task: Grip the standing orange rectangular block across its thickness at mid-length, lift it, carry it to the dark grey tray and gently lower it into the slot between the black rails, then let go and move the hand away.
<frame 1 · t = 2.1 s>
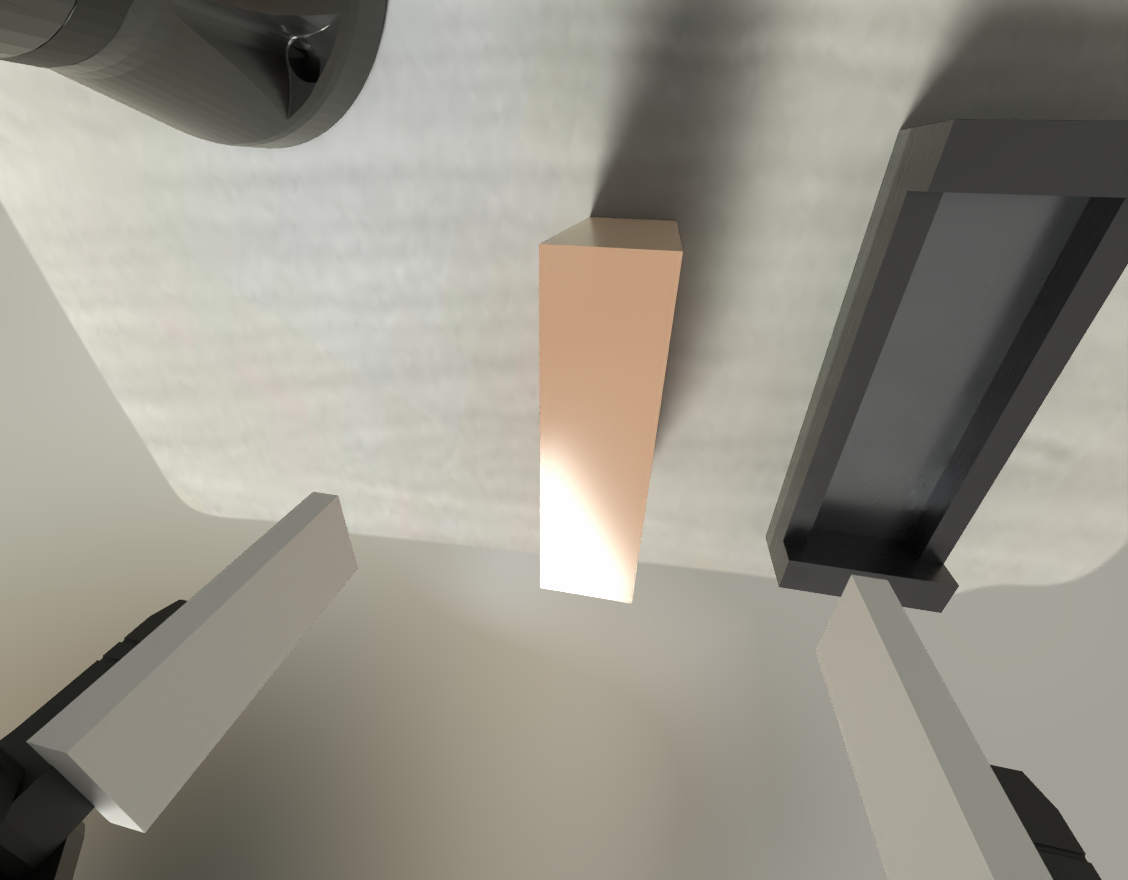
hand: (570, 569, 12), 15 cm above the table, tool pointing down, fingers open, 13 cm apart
orange rectangular block: (619, 361, 25), on the table
dark grey tray: (903, 388, 22), on the table
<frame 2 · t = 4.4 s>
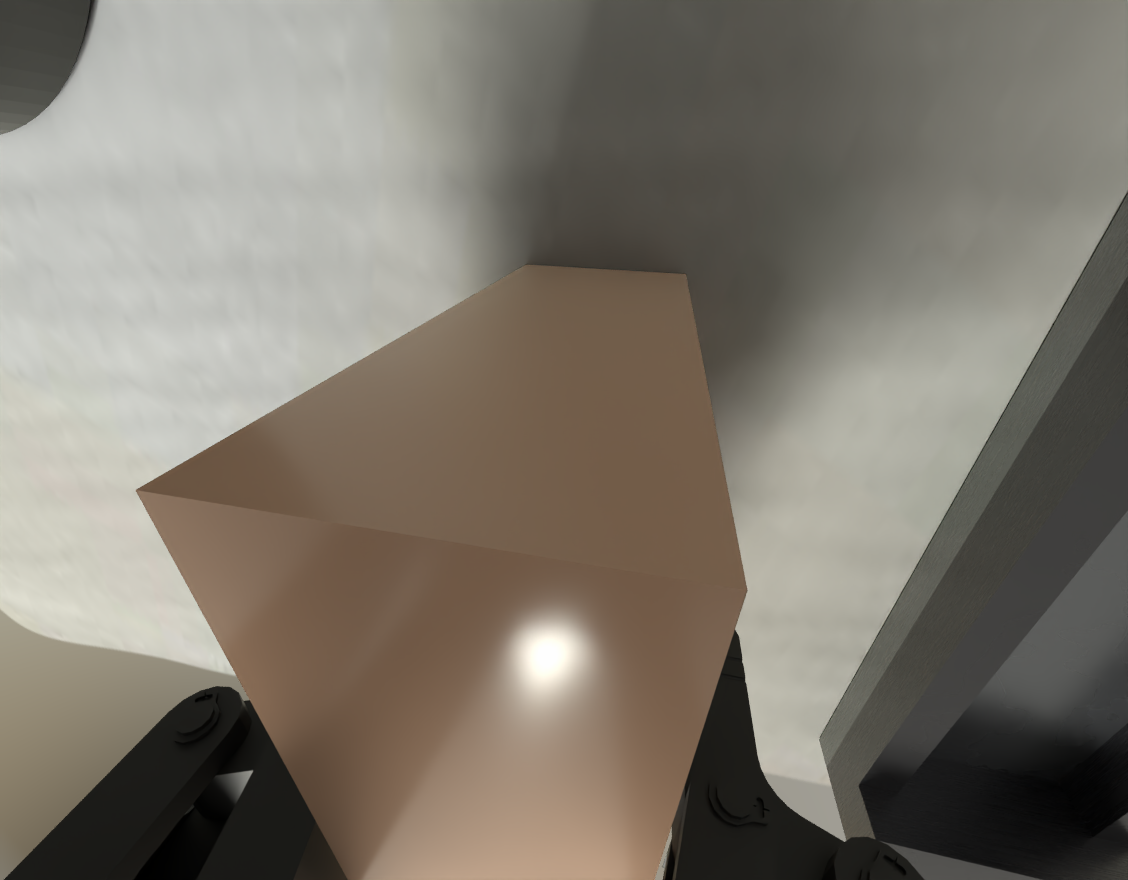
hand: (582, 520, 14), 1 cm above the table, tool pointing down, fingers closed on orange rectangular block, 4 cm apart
orange rectangular block: (588, 495, 15), on the table, touching gripper
dark grey tray: (1089, 566, 13), on the table
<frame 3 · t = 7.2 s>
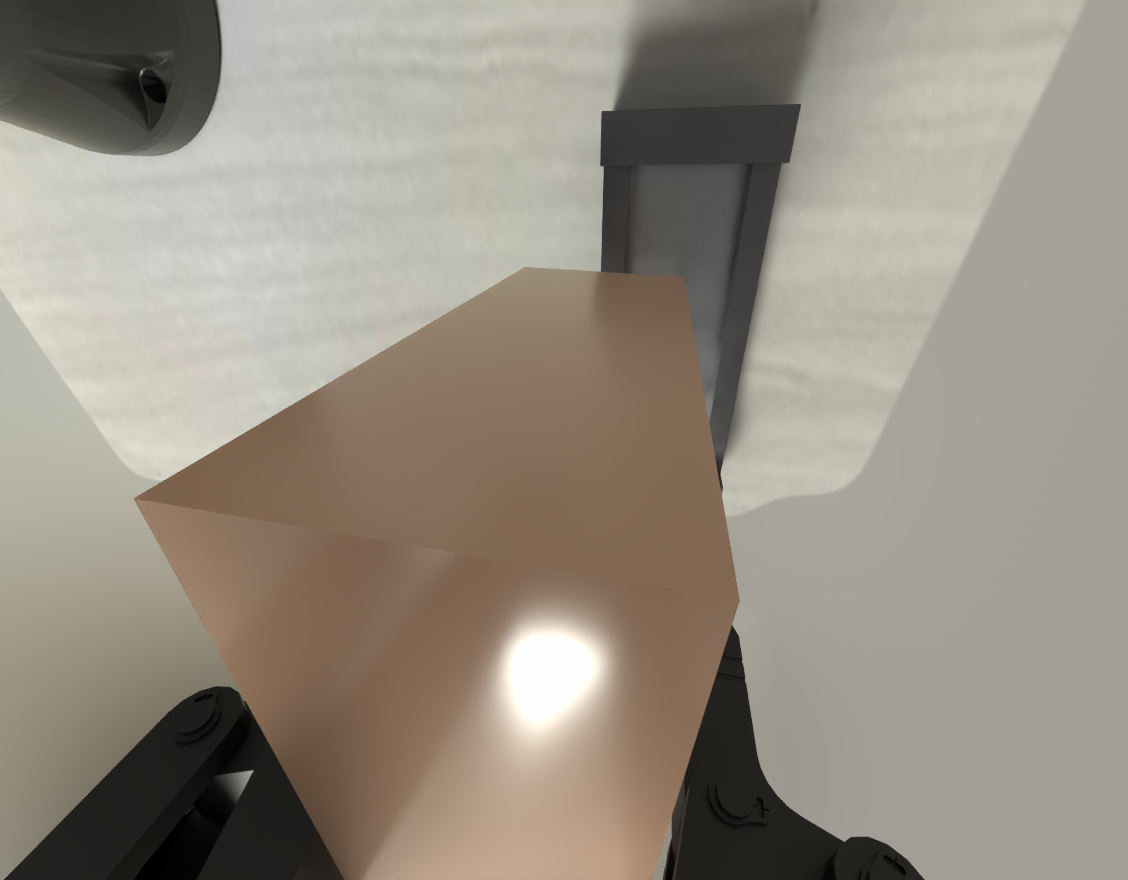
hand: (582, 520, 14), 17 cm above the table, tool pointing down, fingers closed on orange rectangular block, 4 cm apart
orange rectangular block: (587, 497, 15), point 16 cm above the table, touching gripper
dark grey tray: (669, 329, 28), on the table
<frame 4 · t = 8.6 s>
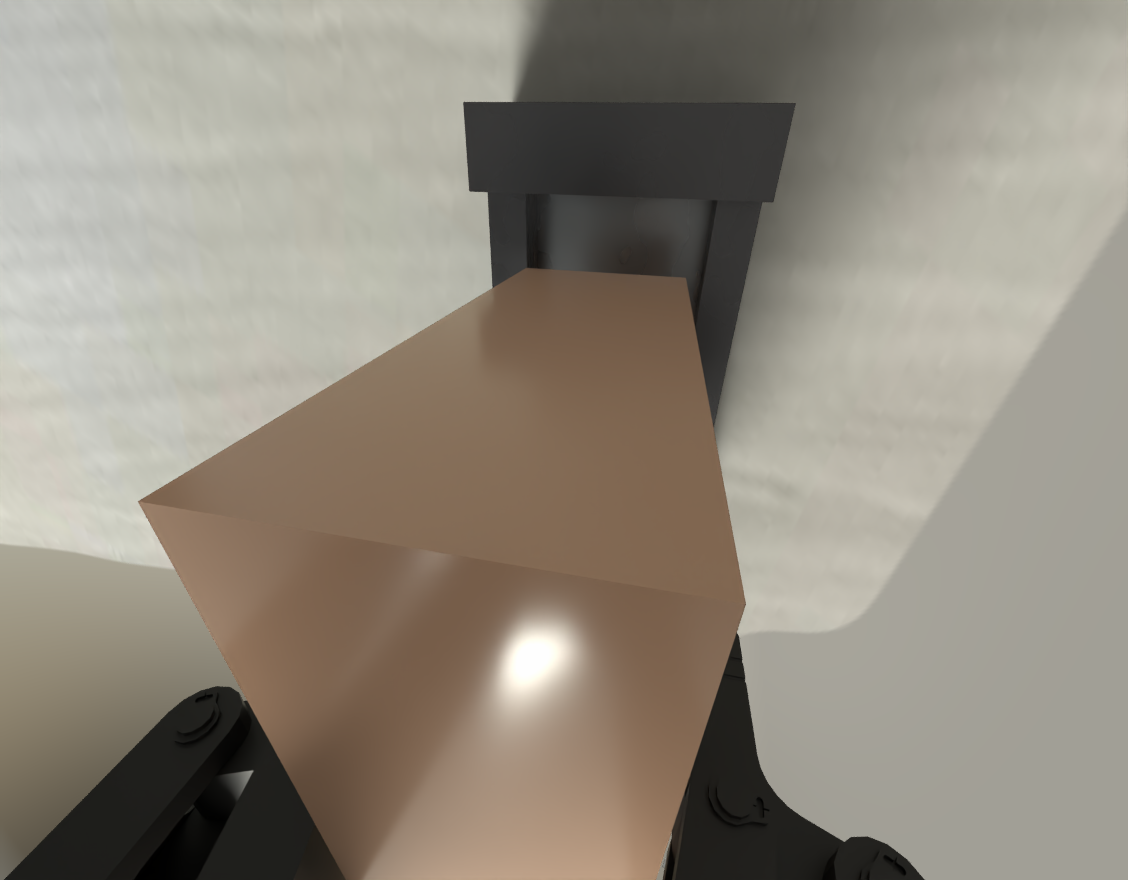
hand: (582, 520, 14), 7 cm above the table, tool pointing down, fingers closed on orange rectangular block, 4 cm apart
orange rectangular block: (588, 498, 15), point 6 cm above the table, touching gripper
dark grey tray: (607, 416, 20), on the table
when the fingers open (4 cm above the table, at t = 9.9 s): orange rectangular block drops 1 cm, resting on dark grey tray.
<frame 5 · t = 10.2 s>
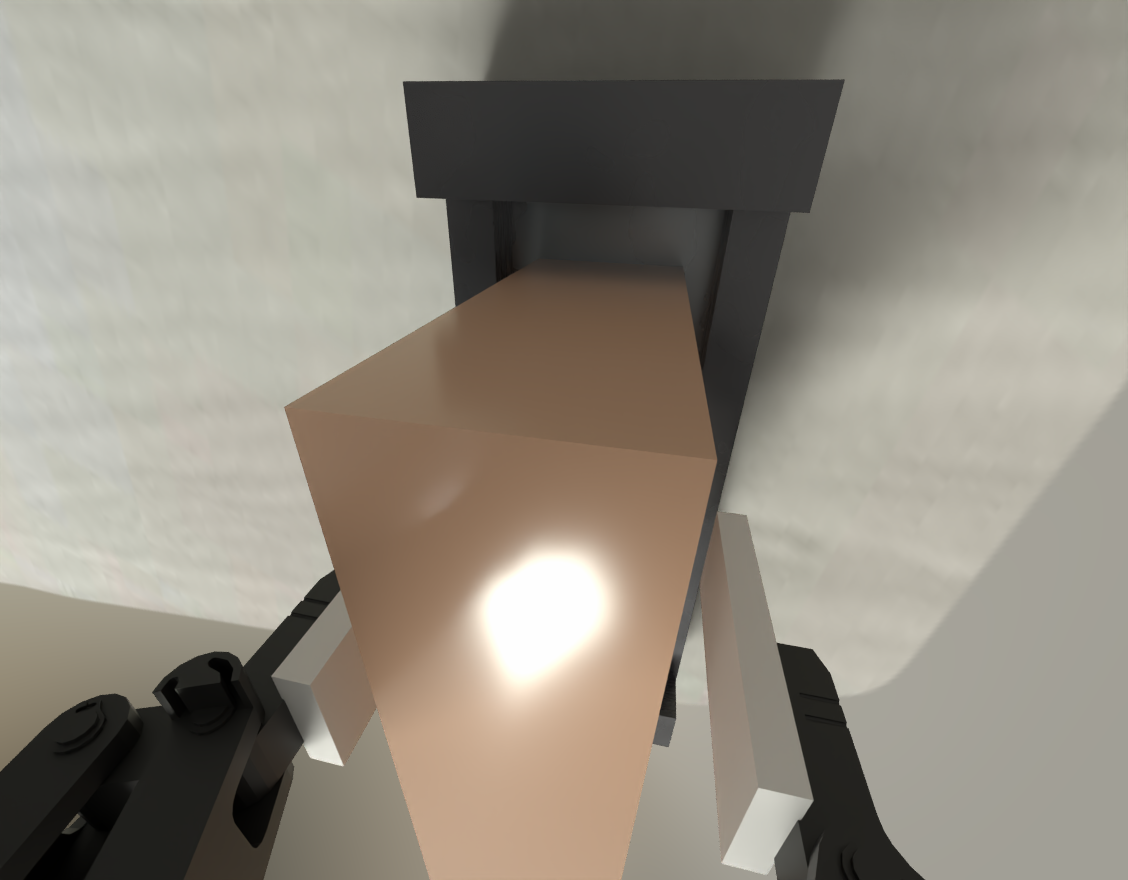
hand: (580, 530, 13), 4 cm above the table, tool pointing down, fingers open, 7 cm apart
orange rectangular block: (594, 473, 16), point 1 cm above the table, touching dark grey tray
dark grey tray: (598, 457, 17), on the table
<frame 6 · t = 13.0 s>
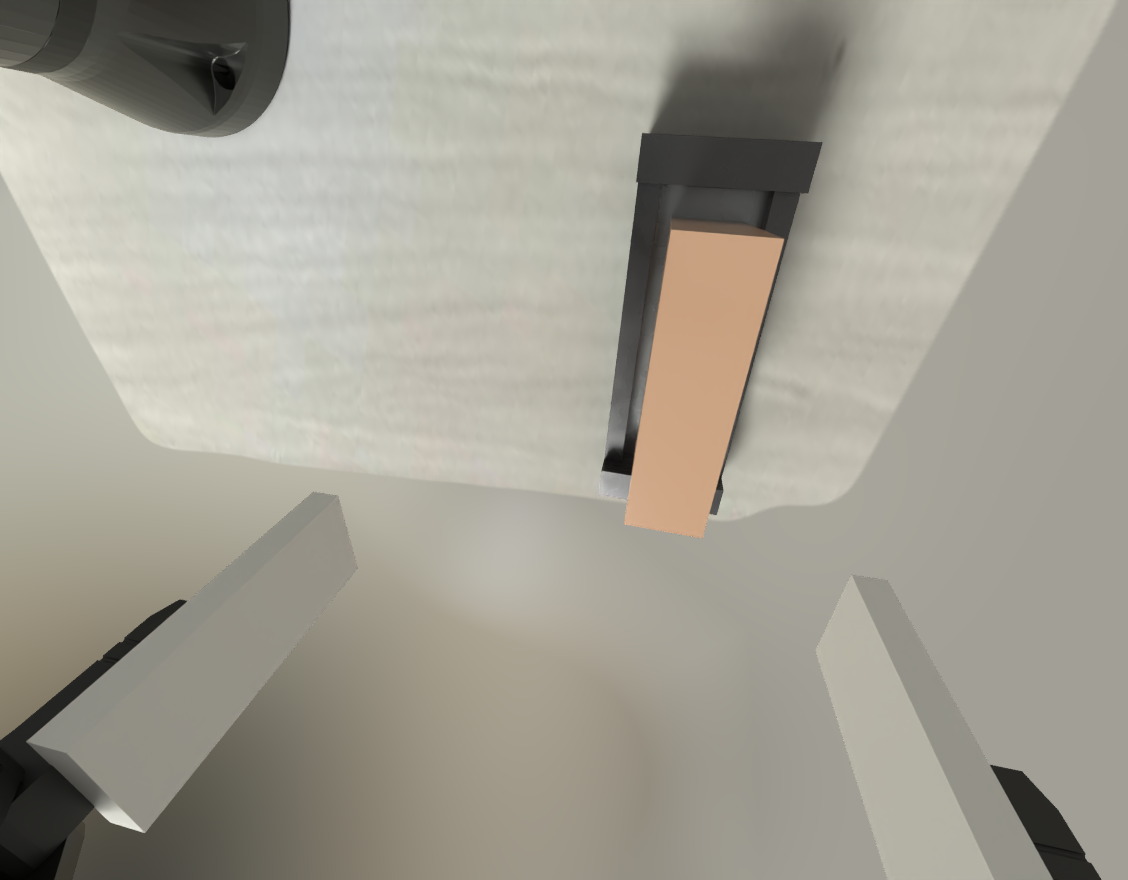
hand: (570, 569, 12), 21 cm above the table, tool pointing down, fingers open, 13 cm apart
orange rectangular block: (684, 342, 29), point 1 cm above the table, touching dark grey tray
dark grey tray: (684, 338, 29), on the table
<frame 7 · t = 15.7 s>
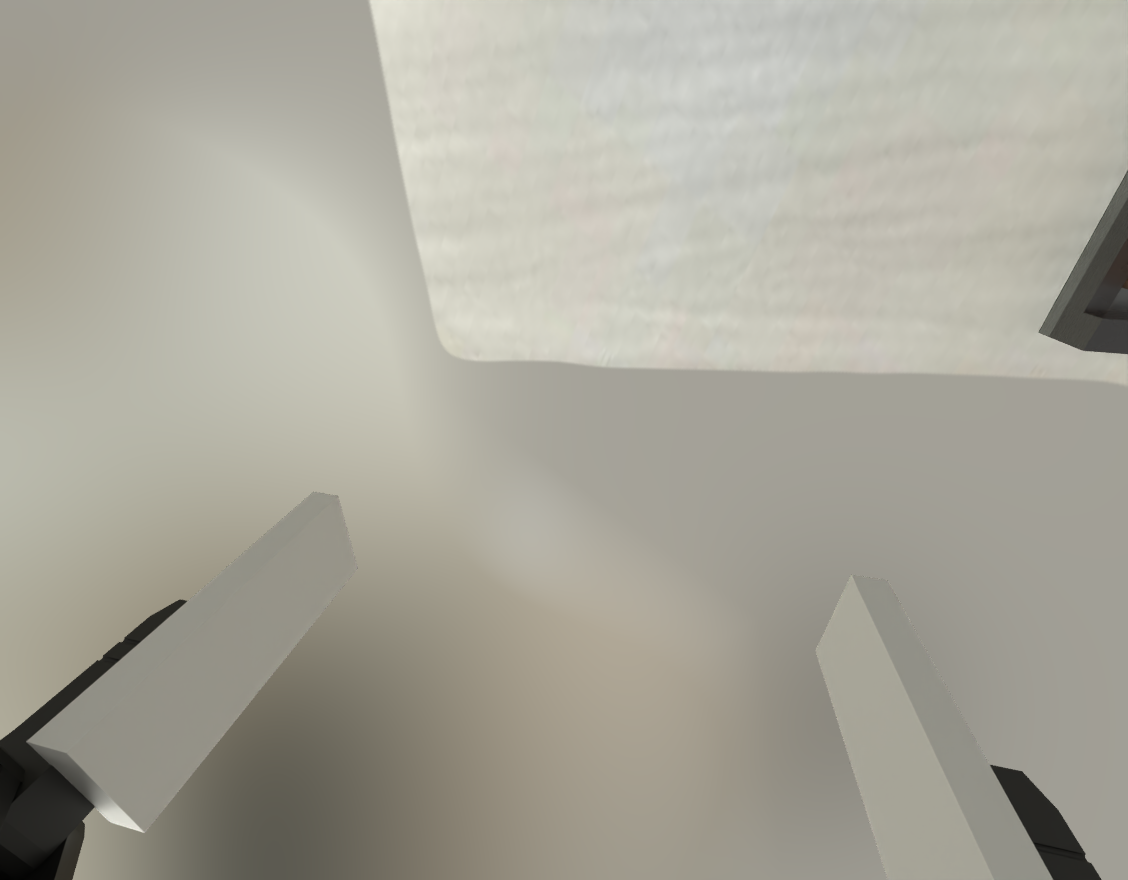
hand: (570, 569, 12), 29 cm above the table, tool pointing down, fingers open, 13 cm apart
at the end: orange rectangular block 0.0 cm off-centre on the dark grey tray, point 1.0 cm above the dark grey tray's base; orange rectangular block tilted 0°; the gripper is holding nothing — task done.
